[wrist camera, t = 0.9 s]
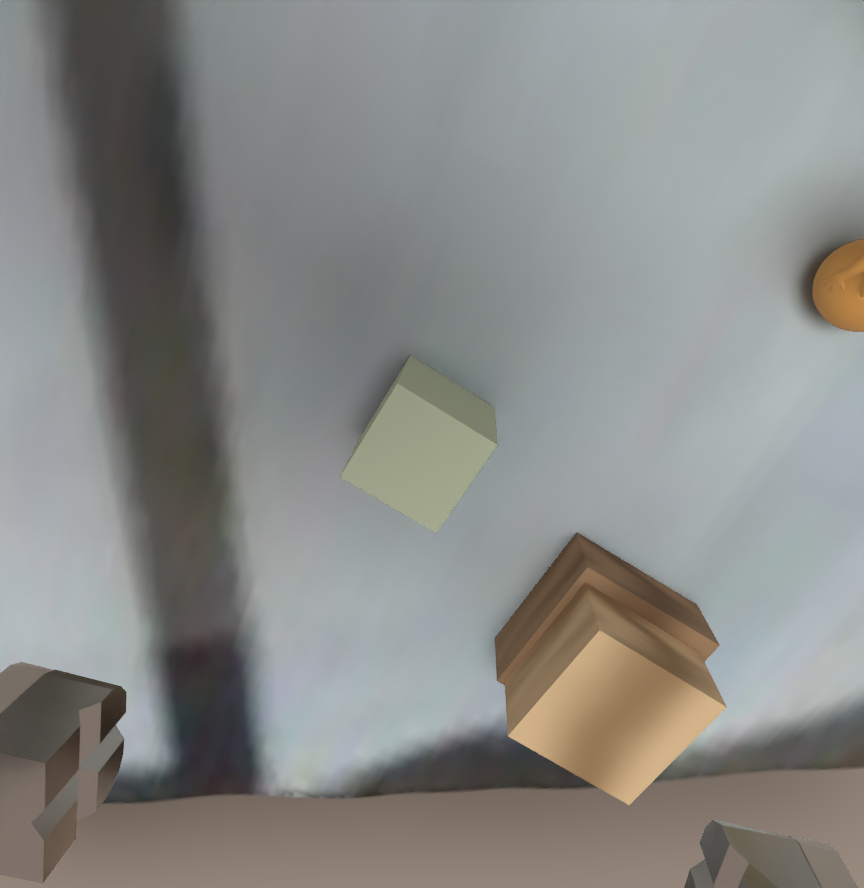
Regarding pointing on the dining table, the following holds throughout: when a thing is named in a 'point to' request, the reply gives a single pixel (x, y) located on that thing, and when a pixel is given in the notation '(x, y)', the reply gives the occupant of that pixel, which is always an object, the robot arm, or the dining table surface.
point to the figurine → (842, 287)
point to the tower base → (613, 580)
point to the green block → (423, 445)
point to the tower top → (609, 695)
